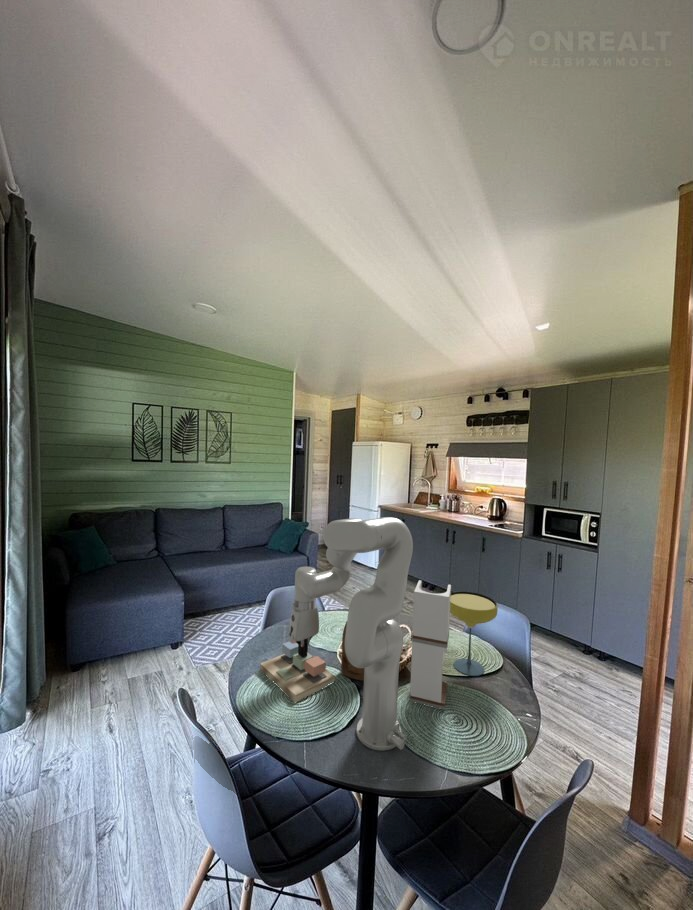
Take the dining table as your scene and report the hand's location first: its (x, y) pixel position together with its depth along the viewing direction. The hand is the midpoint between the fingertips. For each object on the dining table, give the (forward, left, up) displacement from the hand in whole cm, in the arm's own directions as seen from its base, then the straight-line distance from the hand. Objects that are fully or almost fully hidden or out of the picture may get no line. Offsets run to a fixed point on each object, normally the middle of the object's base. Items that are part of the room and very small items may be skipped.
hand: (302, 655), depth 130 cm
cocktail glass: (-35, -51, -7) cm, 62 cm away
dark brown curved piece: (-12, -15, -7) cm, 20 cm away
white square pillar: (-35, -26, -7) cm, 44 cm away
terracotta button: (-7, 0, -2) cm, 8 cm away
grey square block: (+7, 0, -2) cm, 7 cm away
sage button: (0, 0, -3) cm, 3 cm away
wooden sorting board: (0, +2, -6) cm, 7 cm away
